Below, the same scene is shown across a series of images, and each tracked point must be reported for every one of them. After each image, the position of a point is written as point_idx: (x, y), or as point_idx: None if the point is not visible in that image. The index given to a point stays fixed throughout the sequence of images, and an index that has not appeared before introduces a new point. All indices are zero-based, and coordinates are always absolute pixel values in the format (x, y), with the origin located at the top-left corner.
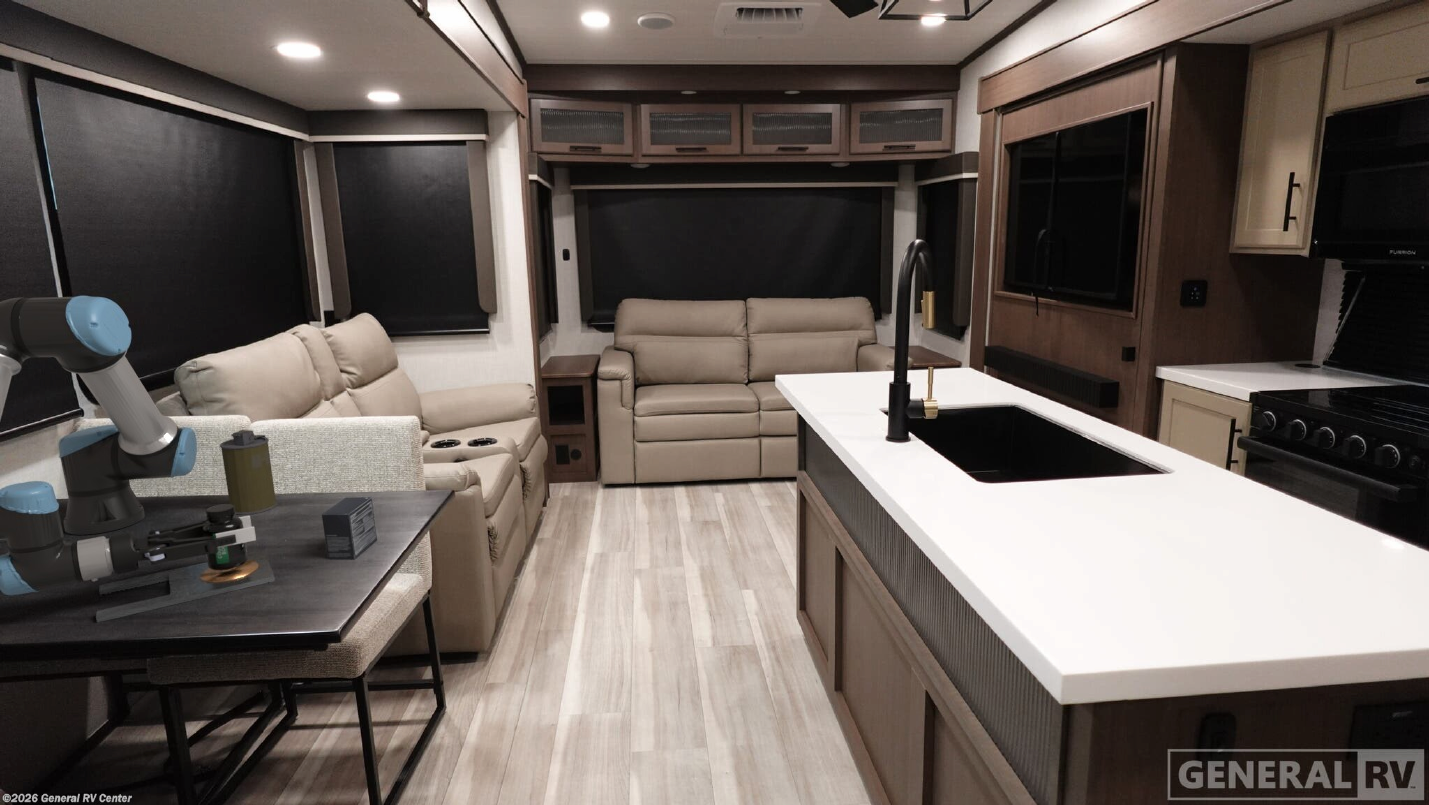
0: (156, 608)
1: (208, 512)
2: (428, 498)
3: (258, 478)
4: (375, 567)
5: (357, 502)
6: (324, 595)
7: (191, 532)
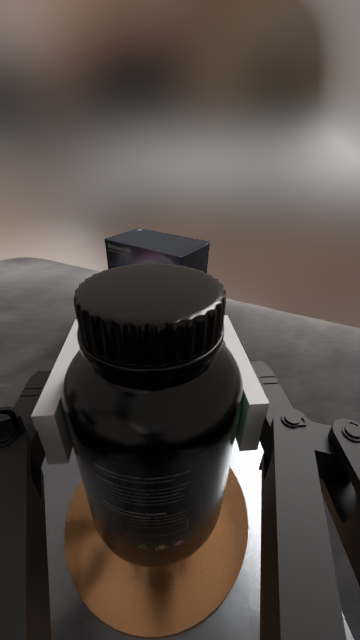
0: None
1: (192, 322)
2: (32, 262)
3: None
4: (249, 311)
5: (155, 234)
6: (347, 357)
7: (31, 565)
